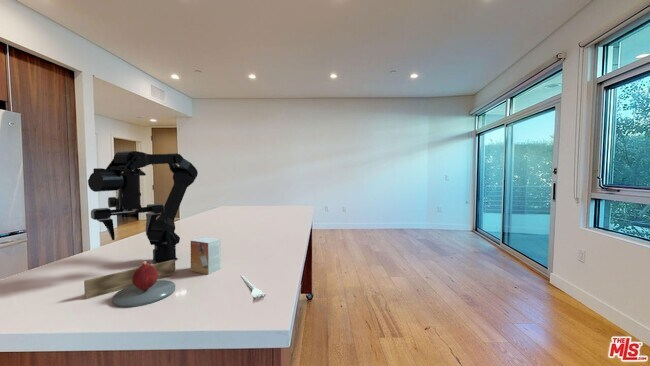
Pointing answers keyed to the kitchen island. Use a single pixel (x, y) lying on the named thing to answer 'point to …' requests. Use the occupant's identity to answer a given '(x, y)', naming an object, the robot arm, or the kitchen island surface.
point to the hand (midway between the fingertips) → (130, 237)
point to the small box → (205, 255)
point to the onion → (145, 276)
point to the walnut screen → (122, 280)
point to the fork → (253, 289)
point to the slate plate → (143, 294)
